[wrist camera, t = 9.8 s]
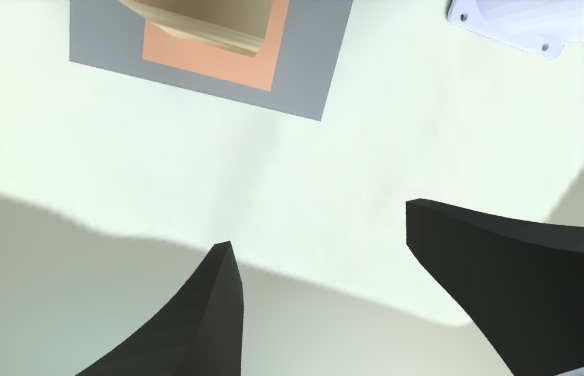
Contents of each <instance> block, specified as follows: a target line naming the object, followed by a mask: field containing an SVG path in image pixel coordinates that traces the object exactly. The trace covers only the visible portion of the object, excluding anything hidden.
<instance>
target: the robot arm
mask: <svg viewBox="0 0 584 376" xmlns="http://www.w3.org/2000/svg"><path fill="white" fill-rule="evenodd" d="M462 14H463V16H464V19H463V21H462V20H461V15H462ZM447 18H448V21H449V23H451V24H453V25H456V26H458V27H461V28H464V29H467V30H469V31H472V32H475V33H478V34H480V35H483V36H486V37H489V38H491V39H494V40H497V41H500V42H503V43H505V44H508V45H511V46H514V47H516V48H519V49H522V50H525V51H527V52H530V53H533V54H536V55H538V56H541V57H544V58H547V59H555V58H557V57H558V56H559V55H560V53H561V51H562V49H563V47H564V45H565V44H571V43H580V42H584V0H453V1H452V4H451V6H450V9H449V12H448V16H447ZM542 46H543V49H542ZM406 244H407V246H408V247H409V249H410V250H411V252H412V253H413V255H414V256H415V257H416V259H417V260H418V261H419V263H420V264H421V265H422V266H423V267H424V268H425V269H426V270H427V271H428V272H429V274H430V275H431V276H432V277H433V278H434V279H435V280H436V281H437V282H438V283H439V284H440V285H441V286H442V287H443V288H444V289H445V290H446V291H447V292H448V293H449V294H450V295H451V297H452V298H453V299H454V300H455V301H456V302H457V303H458V304H459V305H460V306H461V307H462V308H463V309H464V310H465V312H466V313H467V314H468V315H469V316H470V317H471V319H472V320H473V321H474V323H475V324H476V325H477V326H478V328H479V329H480V330H481V331H482V333H483V334H484V335H485V337H486V338H487V339H488V341H489V342H490V343H491V345H492V346H493V347H494V349H495V350H496V351H497V353H498V354H499V355H500V357H501V358H502V359H503V361H504V362H505V364H506V365H507V366H508V368H509V369H510V371H511V372H512V373H513V375H514V376H584V227H577V226H565V225H555V224H546V223H538V222H531V221H524V220H518V219H512V218H506V217H502V216H497V215H492V214H487V213H483V212H478V211H474V210H470V209H466V208H462V207H458V206H454V205H450V204H446V203H442V202H437V201H433V200H428V199H421V198H419V199H415V200H410V201H406ZM243 314H244V302H243V288H242V282H241V278H240V274H239V270H238V267H237V263H236V260H235V256H234V252H233V249H232V245H231V241H227V242H223V243H218V244H214V246H213V247H212V248H211V250H210V251H209V252H208V254H207V255H206V257H205V258H204V259H203V261H202V262H201V264H200V265H199V266H198V267H197V269H196V270H195V272H194V273H193V274H192V275H191V276H190V278H189V279H188V280H187V281H186V282H185V284H184V285H183V286H182V287H181V288H180V290H179V291H178V292H177V293H176V294H175V295H174V296H173V297H172V298H171V300H169V302H168V303H167V304H166V305H165V306H164V307H163V308H161V309H160V311H158V312H157V314H155V315H154V316H153V317H152V318H151V319H150V320H149V321H147V322H146V323H145V324H144V325H143V326H142V327H140V328H139V329H138V330H137V331H136V332H134V333H133V334H132V335H131V336H130V337H129V338H127V339H126V340H125V341H124V342H122V343H121V344H120V345H118V346H117V347H116V348H114V349H113V350H112V351H110V352H109V353H107V354H106V355H105V356H103V357H102V358H100V359H99V360H98V361H96V362H95V363H93V364H92V365H90V366H89V367H88V368H86V369H85V370H83V371H82V372H80V373H78V374H77V375H75V376H241V350H242V333H243Z"/></svg>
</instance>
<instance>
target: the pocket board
mask: <svg viewBox="0 0 584 376" xmlns="http://www.w3.org/2000/svg"><path fill="white" fill-rule="evenodd" d="M352 2H353V0H272V4H271V9H270V15H269V20H268V25H267V30H266V36H265V40H264V41H263V43H262V45H261V47H260V48H259V50H258V52H257V54H256V55H255V57H254V58H252V57H248V56H245V55H241V54H237V53H234V52H230V51H226V50H223V49H219V48H215V47H212V46H208V45H205V44H201V43H197V42H194V41H190V40H186V39H183V38H179V37H175V36H172V35H170V34H169V33H167V32H165V31H164V30H162V29H161V28H159V27H158V26H156V25H155V24H153V23H152V22H150V21H149V20H147V19H146V18H144V17H143V16H141V15H140V14H138V13H136V12H135V11H133V10H132V9H130V8H129V7H127V6H126V5H124V4H123V3H121V2H120V1H118V0H70V59H69V61H71V62H76V63H80V64H84V65H88V66H92V67H96V68H101V69H105V70H109V71H113V72H117V73H121V74H126V75H130V76H134V77H138V78H142V79H146V80H151V81H155V82H159V83H163V84H167V85H171V86H176V87H180V88H184V89H188V90H192V91H196V92H201V93H205V94H209V95H213V96H217V97H221V98H226V99H230V100H234V101H238V102H242V103H246V104H251V105H255V106H259V107H263V108H267V109H271V110H276V111H280V112H284V113H288V114H292V115H296V116H301V117H305V118H309V119H313V120H317V121H321V118H322V114H323V110H324V107H325V103H326V99H327V95H328V92H329V88H330V84H331V81H332V77H333V73H334V69H335V66H336V62H337V58H338V54H339V51H340V47H341V43H342V40H343V36H344V32H345V28H346V25H347V21H348V17H349V14H350V10H351V6H352Z"/></svg>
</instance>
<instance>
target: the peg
mask: <svg viewBox="0 0 584 376" xmlns="http://www.w3.org/2000/svg"><path fill="white" fill-rule="evenodd" d="M118 1H120V2H121V3H123V4H124V5H126V6H127V7H129V8H130V9H132V10H133V11H135V12H136V13H138V14H140V15H141V16H143V17H144V18H146V19H147V20H149V21H150V22H152V23H153V24H155V25H156V26H158V27H159V28H161V29H162V30H164V31H165V32H167V33H169V34H170V35H172V36H175V37H179V38H183V39H186V40H190V41H194V42H197V43H201V44H205V45H208V46H212V47H215V48H219V49H223V50H226V51H230V52H234V53H237V54H241V55H245V56H248V57H252V58H254V57H255V55H256V54H257V52H258V50H259V48H260V47H261V45H262V43H263V41H264V40H265V36H266V30H267V25H268V20H269V15H270V9H271V4H272V0H118Z"/></svg>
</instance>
